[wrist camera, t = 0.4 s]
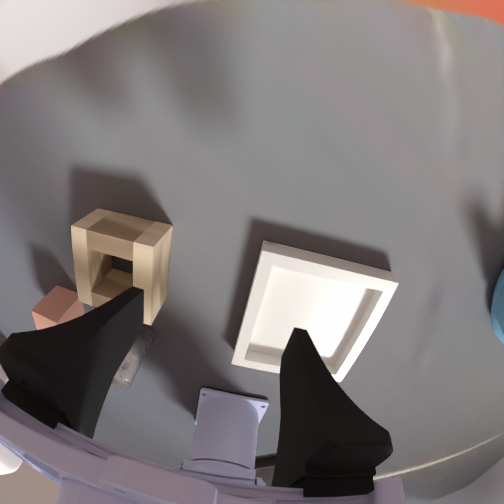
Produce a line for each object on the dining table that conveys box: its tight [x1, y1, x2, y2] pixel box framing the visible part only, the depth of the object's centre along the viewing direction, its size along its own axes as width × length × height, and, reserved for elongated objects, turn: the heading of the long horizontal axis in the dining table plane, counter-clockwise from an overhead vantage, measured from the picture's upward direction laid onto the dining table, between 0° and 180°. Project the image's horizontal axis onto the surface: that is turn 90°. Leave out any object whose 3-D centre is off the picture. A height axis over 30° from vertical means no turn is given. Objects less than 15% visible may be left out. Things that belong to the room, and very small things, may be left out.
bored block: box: [71, 208, 173, 325], centre depth 21 cm, size 7×7×4 cm
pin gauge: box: [112, 324, 154, 388], centre depth 24 cm, size 3×3×6 cm
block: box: [31, 285, 85, 330], centre depth 25 cm, size 5×4×5 cm
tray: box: [231, 240, 399, 382], centre depth 24 cm, size 12×11×2 cm
